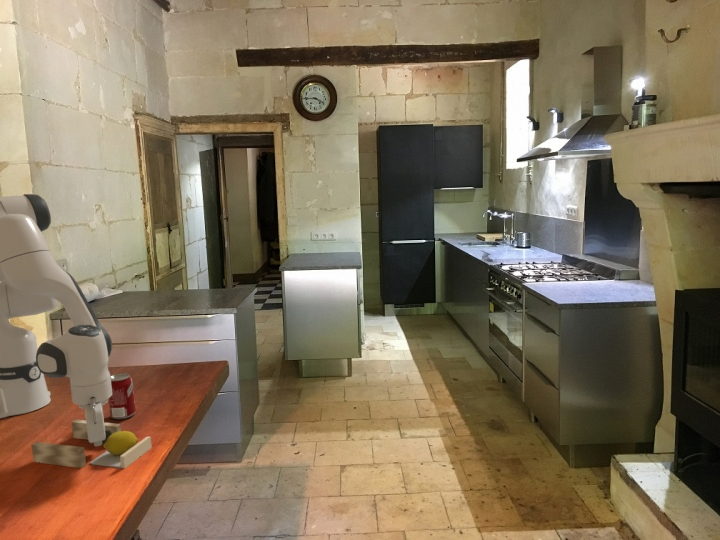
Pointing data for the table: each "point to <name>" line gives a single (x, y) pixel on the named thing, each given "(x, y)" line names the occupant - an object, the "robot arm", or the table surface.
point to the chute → (68, 447)
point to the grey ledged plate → (124, 455)
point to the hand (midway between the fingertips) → (98, 443)
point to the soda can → (122, 397)
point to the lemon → (120, 442)
